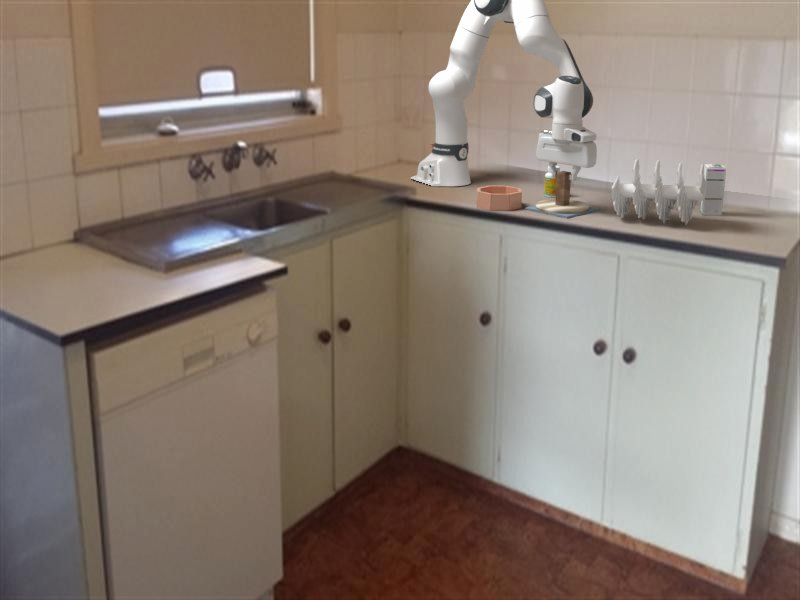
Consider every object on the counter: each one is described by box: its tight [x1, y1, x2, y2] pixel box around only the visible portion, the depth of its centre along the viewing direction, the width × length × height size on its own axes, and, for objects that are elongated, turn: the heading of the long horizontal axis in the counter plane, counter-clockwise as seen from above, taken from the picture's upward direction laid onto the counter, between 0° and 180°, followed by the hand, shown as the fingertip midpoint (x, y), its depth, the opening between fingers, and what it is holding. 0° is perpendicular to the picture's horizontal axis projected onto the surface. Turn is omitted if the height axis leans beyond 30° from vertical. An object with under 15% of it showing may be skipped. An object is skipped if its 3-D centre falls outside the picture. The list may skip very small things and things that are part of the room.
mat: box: [524, 204, 601, 219], centre depth 265 cm, size 16×16×1 cm
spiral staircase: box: [610, 158, 706, 226], centre depth 250 cm, size 18×18×25 cm
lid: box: [535, 170, 590, 214], centre depth 264 cm, size 16×16×11 cm
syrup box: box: [699, 163, 727, 217], centre depth 258 cm, size 6×6×14 cm
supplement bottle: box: [543, 165, 561, 199], centre depth 283 cm, size 5×5×10 cm
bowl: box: [476, 185, 523, 212], centre depth 270 cm, size 14×14×5 cm
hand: (563, 178), depth 262 cm, fingers open, 5 cm apart
